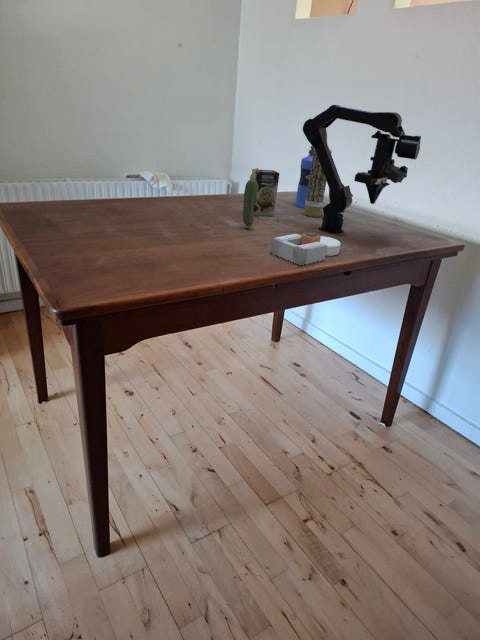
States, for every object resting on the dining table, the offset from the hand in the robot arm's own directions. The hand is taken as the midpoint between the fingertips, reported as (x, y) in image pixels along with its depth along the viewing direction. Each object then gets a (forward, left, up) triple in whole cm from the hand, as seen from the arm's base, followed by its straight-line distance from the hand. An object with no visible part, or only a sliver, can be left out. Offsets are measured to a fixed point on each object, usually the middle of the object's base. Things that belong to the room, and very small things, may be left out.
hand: (372, 203), depth 152 cm
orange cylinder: (+2, -33, -12) cm, 35 cm away
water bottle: (-42, +17, -12) cm, 47 cm away
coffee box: (-40, -12, -12) cm, 44 cm away
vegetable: (-27, -31, -12) cm, 43 cm away
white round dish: (+2, -26, -12) cm, 29 cm away
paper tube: (-30, +7, -12) cm, 33 cm away
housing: (+2, -38, -12) cm, 40 cm away
